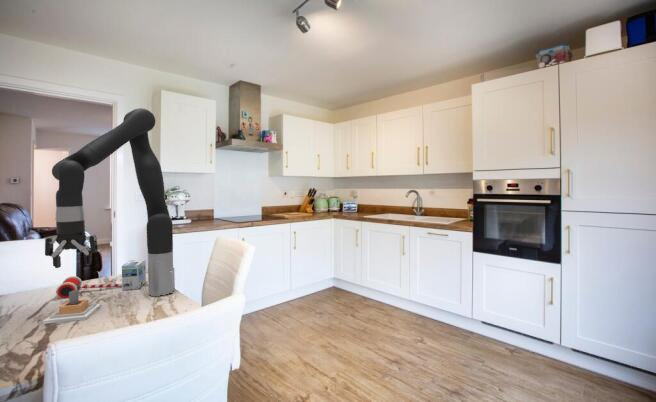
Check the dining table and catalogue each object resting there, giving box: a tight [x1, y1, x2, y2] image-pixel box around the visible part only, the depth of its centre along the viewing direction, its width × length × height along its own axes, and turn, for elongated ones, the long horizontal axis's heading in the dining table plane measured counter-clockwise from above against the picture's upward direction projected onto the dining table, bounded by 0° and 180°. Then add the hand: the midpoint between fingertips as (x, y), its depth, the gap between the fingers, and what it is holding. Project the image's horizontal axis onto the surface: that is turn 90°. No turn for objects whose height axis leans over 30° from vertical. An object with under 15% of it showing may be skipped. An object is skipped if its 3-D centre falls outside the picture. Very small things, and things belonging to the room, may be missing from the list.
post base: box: [42, 290, 102, 325], centre depth 108 cm, size 12×12×8 cm
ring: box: [58, 298, 89, 315], centre depth 108 cm, size 6×6×3 cm
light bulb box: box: [121, 259, 147, 291], centre depth 139 cm, size 11×7×11 cm, turn 16°
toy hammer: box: [55, 275, 122, 300], centre depth 133 cm, size 23×12×6 cm, turn 120°
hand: (72, 266), depth 108 cm, fingers open, 8 cm apart
